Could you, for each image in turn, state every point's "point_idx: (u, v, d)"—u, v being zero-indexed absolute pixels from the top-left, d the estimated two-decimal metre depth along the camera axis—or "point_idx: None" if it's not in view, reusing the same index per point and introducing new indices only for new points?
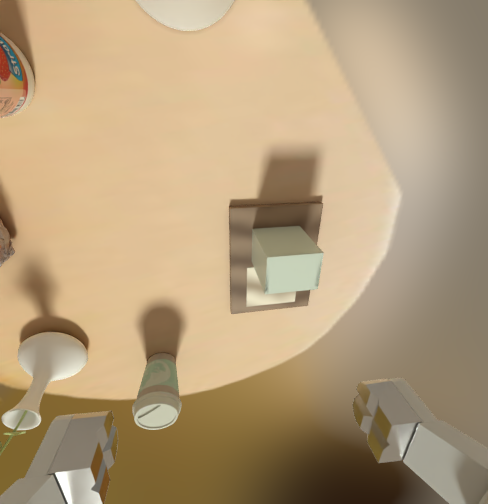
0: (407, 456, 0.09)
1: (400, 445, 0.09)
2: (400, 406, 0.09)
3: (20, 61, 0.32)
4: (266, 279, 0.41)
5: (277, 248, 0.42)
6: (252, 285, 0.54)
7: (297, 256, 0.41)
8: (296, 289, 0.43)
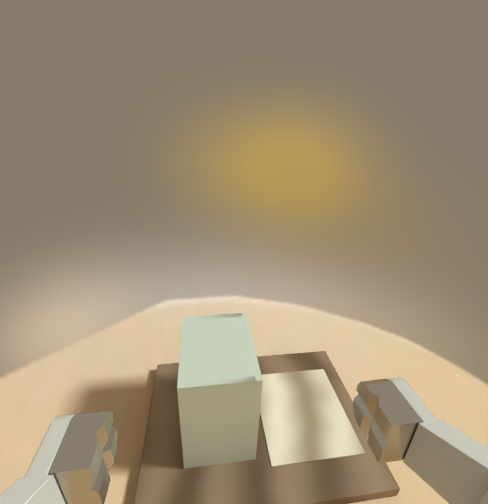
0: (407, 456, 0.09)
1: (400, 445, 0.09)
2: (400, 406, 0.09)
3: None
4: (227, 382, 0.21)
5: None
6: (310, 447, 0.27)
7: (183, 344, 0.25)
8: (248, 336, 0.26)
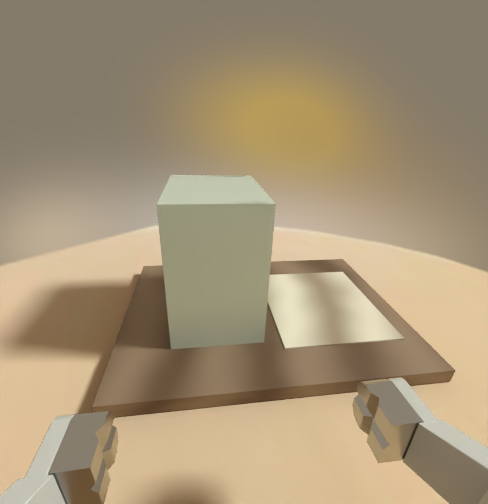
0: (407, 456, 0.09)
1: (400, 445, 0.09)
2: (400, 406, 0.09)
3: None
4: (227, 204, 0.16)
5: None
6: (333, 333, 0.21)
7: (170, 186, 0.19)
8: (254, 184, 0.20)
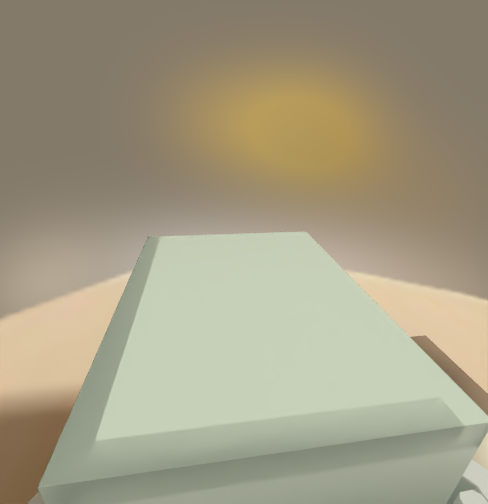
0: None
1: None
2: None
3: None
4: (325, 439, 0.04)
5: None
6: None
7: (135, 291, 0.08)
8: (334, 271, 0.09)
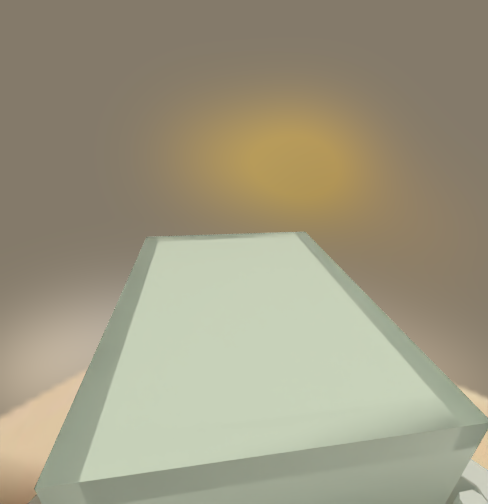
0: None
1: None
2: None
3: None
4: (322, 440, 0.04)
5: None
6: None
7: (133, 291, 0.08)
8: (332, 271, 0.09)
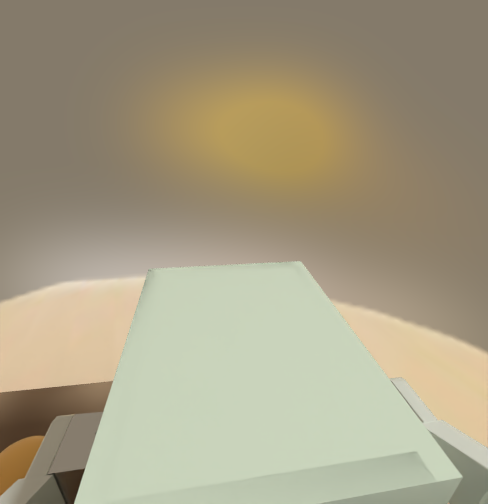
0: None
1: None
2: None
3: None
4: (312, 497, 0.05)
5: None
6: None
7: (138, 334, 0.08)
8: (326, 308, 0.09)
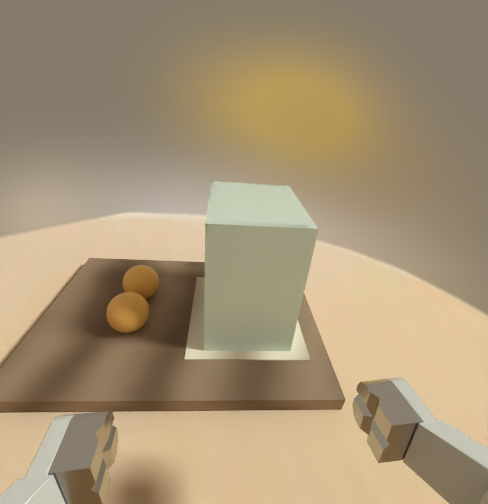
0: (407, 456, 0.09)
1: (400, 445, 0.09)
2: (400, 406, 0.09)
3: None
4: (271, 226, 0.16)
5: None
6: None
7: (213, 197, 0.20)
8: (294, 199, 0.20)
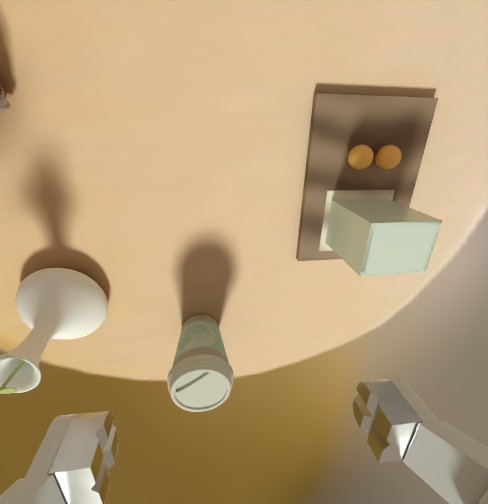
0: (407, 455, 0.09)
1: (400, 445, 0.09)
2: (400, 406, 0.09)
3: None
4: (365, 254, 0.32)
5: (377, 215, 0.33)
6: None
7: (408, 224, 0.31)
8: (399, 271, 0.33)
